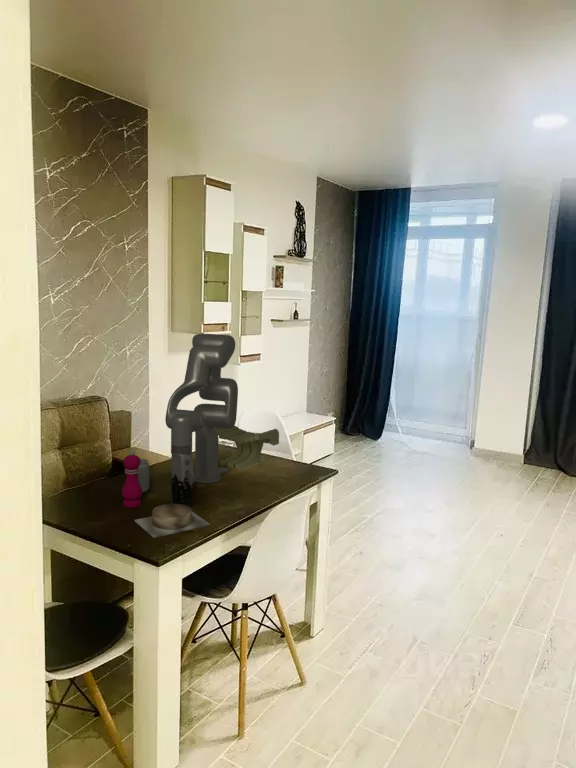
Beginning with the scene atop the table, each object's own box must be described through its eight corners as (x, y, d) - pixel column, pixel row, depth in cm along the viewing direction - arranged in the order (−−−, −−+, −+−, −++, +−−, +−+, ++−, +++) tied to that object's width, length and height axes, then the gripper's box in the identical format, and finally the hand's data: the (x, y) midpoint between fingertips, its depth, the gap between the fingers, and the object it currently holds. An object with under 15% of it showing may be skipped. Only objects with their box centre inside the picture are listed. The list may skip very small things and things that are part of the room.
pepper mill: (144, 506, 216) (144, 452, 212) (124, 509, 212) (124, 454, 209) (139, 499, 222) (139, 447, 219) (119, 502, 218) (119, 449, 215)
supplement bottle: (192, 502, 222) (192, 470, 220) (188, 508, 215) (188, 476, 213) (173, 501, 222) (174, 469, 220) (169, 507, 215) (169, 475, 213)
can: (125, 491, 230) (125, 461, 228) (138, 486, 237) (138, 456, 235) (140, 495, 227) (140, 464, 225) (153, 489, 234) (153, 459, 232)
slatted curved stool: (278, 465, 271) (279, 427, 268) (257, 474, 258) (258, 433, 255) (226, 453, 287) (227, 417, 284) (204, 461, 274) (204, 423, 271)
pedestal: (188, 510, 214) (188, 497, 213) (209, 525, 201) (210, 512, 200) (134, 521, 202) (134, 508, 201) (153, 537, 189) (153, 524, 189)
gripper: (202, 453, 210) (201, 500, 213) (180, 442, 224) (180, 486, 227) (182, 456, 206) (182, 503, 209) (161, 444, 220) (161, 489, 222)
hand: (181, 494), depth 218 cm, fingers open, 9 cm apart
